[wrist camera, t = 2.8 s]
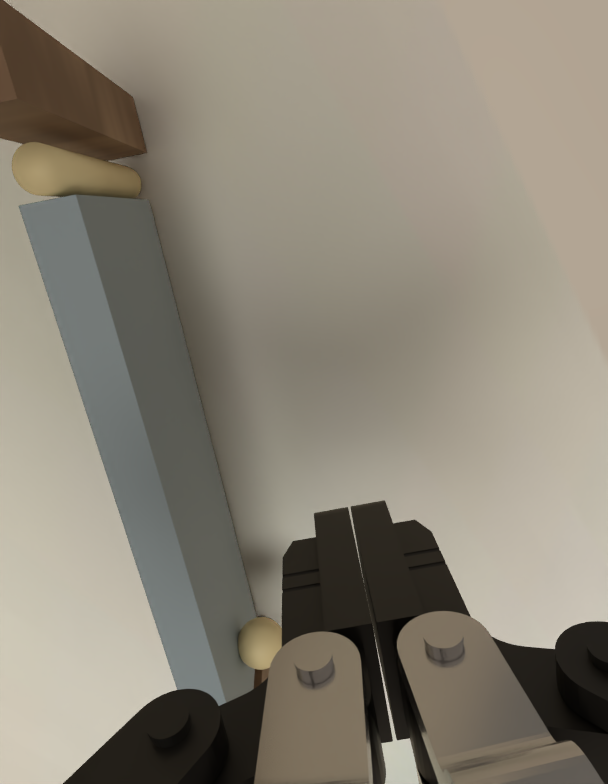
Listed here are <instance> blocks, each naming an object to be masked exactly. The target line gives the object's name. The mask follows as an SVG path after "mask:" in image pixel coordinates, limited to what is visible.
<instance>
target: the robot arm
mask: <svg viewBox="0 0 608 784" xmlns="http://www.w3.org/2000/svg"><path fill="white" fill-rule="evenodd" d="M351 512H352V518H353V523H354V529H355V535H356V540H357V546H358V552H359V558H360V563H361V567H360V563H359V558H358V553H357V548H356V544H355V539H354V534H353V529H352V525H351V520H350V515H349V510H348V507H346V508H340V509H334V510H329V511H323V512H317V513H314V519H315V530H316V537H315V538H309V539H303V540H297V541H293V542H292V544H291V545H290V547H289V548H288V550H287V552H286V553H285V555H284V557H283V578H282V590H283V593H282V648H281V649H280V650H279V651H278V652H277V653H276V655H275V656H274V658H273V660H272V662H271V665H270V669H269V675H268V678H267V679H266V680H265V681H263V682H262V683H261V684H260V685H259V686H257V687H256V688H254V689H253V690H251V691H250V692H248V693H246V694H244V695H242V696H240V697H237V698H235V699H233V700H231V701H229V702H226V703H224V704H222V705H220V706H218V704H217V702H216V700H215V699H214V698H213V697H212V696H211V695H209V694H208V693H206V692H204V691H201V690H197V689H180V690H176V691H172V692H169V693H166V694H164V695H162V696H160V697H158V698H156V699H154V700H153V701H151V702H150V703H148V704H147V705H146V706H144V707H143V708H142V709H141V710H140V711H139V712H138V713H137V714H136V715H135V716H133V717H132V718H131V719H130V720H129V721H128V722H127V723H126V724H125V725H124V726H123V727H122V728H121V729H120V730H119V731H118V732H117V733H116V734H115V735H114V736H112V737H111V738H110V739H109V740H108V741H107V742H106V743H105V744H104V745H103V746H102V747H101V748H100V749H99V750H98V751H97V752H96V753H95V754H94V755H93V756H91V757H90V758H89V759H88V760H87V761H86V762H85V763H84V764H83V765H82V766H81V767H80V768H79V769H78V770H77V771H76V772H75V773H74V774H73V775H72V776H70V777H69V778H68V779H67V780H66V781H65V782H64V783H63V784H384V783H385V778H386V769H385V762H384V756H383V751H382V745H381V743H385V742H391V741H393V739H392V733H391V728H390V722H389V716H388V711H387V705H386V699H385V693H384V688H383V682H382V676H381V671H380V665H379V659H378V653H379V658H380V662H381V667H382V672H383V677H384V681H385V686H386V691H387V696H388V700H389V705H390V710H391V715H392V719H393V724H394V729H395V734H396V738H397V740H401V739H407V738H410V740H411V744H412V749H413V753H414V757H415V762H416V768H417V774H418V781H419V784H608V622H596V621H595V622H585V623H581V624H577V625H574V626H572V627H570V628H568V629H567V630H565V631H564V632H563V633H562V634H561V635H560V636H559V638H558V639H557V642H556V645H555V649H545V648H534V647H524V646H517V645H512V644H508V643H505V642H503V641H500V640H497V639H495V638H493V637H491V635H490V634H489V632H488V631H487V629H486V628H485V627H484V626H483V625H482V624H481V623H480V622H478V621H477V620H475V619H473V618H471V616H470V614H469V612H468V610H467V608H466V606H465V603H464V601H463V599H462V597H461V595H460V593H459V590H458V588H457V586H456V584H455V582H454V580H453V577H452V575H451V573H450V571H449V569H448V567H447V564H445V560H444V558H443V556H442V554H441V551H439V547H438V545H437V543H436V541H435V538H434V536H433V534H432V532H431V531H430V530H428V529H427V528H426V527H424V526H423V525H422V524H420V523H419V522H417V521H416V520H411V521H405V522H399V523H394V524H393V522H392V519H391V517H390V514H389V511H388V508H387V505H386V502H385V501H379V502H373V503H368V504H362V505H356V506H351ZM361 569H362V572H361ZM362 574H363V577H362ZM363 580H364V582H363ZM364 585H365V586H364ZM365 590H366V591H365ZM368 605H369V606H368ZM372 624H373V625H372ZM373 629H374V630H373ZM374 634H375V636H374ZM375 639H376V642H375ZM376 643H377V648H378V653H377V648H376Z"/></svg>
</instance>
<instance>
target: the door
mask: <svg viewBox="0 0 608 784" xmlns="http://www.w3.org/2000/svg"><path fill="white" fill-rule="evenodd" d="M12 171H13V174H14V177H15V179H16V181H17V182H18V184H19V185H20V186H21V187H22V188H23V189H24V190H26V191H27V192H29V193H31V194H34V195H41V196H58V197H60V198H55V199H50V200H45V201H40V202H35V203H30V204H25V205H20V206H19V209H20V212H21V215H22V218H23V221H24V224H25V227H26V230H27V233H28V236H29V239H30V242H31V245H32V248H33V251H34V254H35V257H36V260H37V263H38V266H39V269H40V273H41V276H42V279H43V282H44V285H45V288H46V291H47V294H48V297H49V300H50V303H51V306H52V309H53V312H54V315H55V318H56V321H57V324H58V327H59V330H60V333H61V337H62V340H63V343H64V346H65V349H66V352H67V355H68V358H69V361H70V364H71V367H72V370H73V373H74V376H75V379H76V382H77V385H78V388H79V391H80V394H81V397H82V401H83V404H84V407H85V410H86V413H87V416H88V419H89V422H90V425H91V428H92V431H93V434H94V437H95V440H96V443H97V446H98V449H99V452H100V455H101V458H102V461H103V464H104V468H105V471H106V474H107V477H108V480H109V483H110V486H111V489H112V492H113V495H114V498H115V501H116V504H117V507H118V510H119V513H120V516H121V519H122V522H123V525H124V528H125V532H126V535H127V538H128V541H129V544H130V547H131V550H132V553H133V556H134V559H135V562H136V565H137V568H138V571H139V574H140V577H141V580H142V583H143V586H144V589H145V592H146V596H147V599H148V602H149V605H150V608H151V611H152V614H153V617H154V620H155V623H156V626H157V629H158V632H159V635H160V638H161V641H162V644H163V647H164V650H165V653H166V656H167V659H168V663H169V666H170V669H171V672H172V675H173V678H174V681H175V684H176V687H177V690H180V689H197V690H201V691H204V692H206V693H208V694H209V695H211V696H212V697H213V698H214V699H215V700H216V702H217V704H218V706H220V705H222V704H224V703H226V702H229V701H231V700H233V699H235V698H237V697H240V696H242V695H244V694H246V693H248V692H250V691H251V690H253V689H254V674H255V669H257V670H263V669H267V668H270V665H271V662H272V660H273V658H274V656H275V655H276V653H277V652H278V651H279V650H280V649H281V648H282V629H281V627H280V626H279V625H278V624H277V623H276V622H275V621H274V620H272V619H270V618H266V617H258V618H257V616H256V612H255V609H254V605H253V601H252V597H251V593H250V589H249V585H248V582H247V578H246V574H245V570H244V566H243V562H242V558H241V554H240V551H239V547H238V543H237V539H236V535H235V531H234V527H233V523H232V520H231V516H230V512H229V508H228V504H227V500H226V496H225V492H224V489H223V485H222V481H221V477H220V473H219V469H218V465H217V461H216V458H215V454H214V450H213V446H212V442H211V438H210V434H209V430H208V427H207V423H206V419H205V415H204V411H203V407H202V403H201V399H200V396H199V392H198V388H197V384H196V380H195V376H194V372H193V369H192V365H191V361H190V357H189V353H188V349H187V345H186V341H185V338H184V334H183V330H182V326H181V322H180V318H179V314H178V310H177V307H176V303H175V299H174V295H173V291H172V287H171V283H170V279H169V276H168V272H167V268H166V264H165V260H164V256H163V252H162V248H161V245H160V241H159V237H158V233H157V229H156V225H155V221H154V217H153V214H152V210H151V206H150V202H149V200H144V199H134V198H135V197H137V196H138V194H139V193H140V190H141V180H140V177H139V175H138V174H137V173H136V172H135V171H134V170H133V169H131V168H129V167H126V166H123V165H119V164H115V163H112V162H108V161H104V160H101V159H97V158H93V157H90V156H86V155H83V154H79V153H75V152H72V151H68V150H64V149H61V148H57V147H53V146H50V145H46V144H43V143H39V142H29V143H25V144H23V145H22V146H20V147H19V148H18V149H17V150H16V152H15V153H14V156H13V159H12Z"/></svg>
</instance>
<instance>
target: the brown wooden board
mask: <svg viewBox="0 0 608 784" xmlns="http://www.w3.org/2000/svg"><path fill="white" fill-rule="evenodd" d="M0 138H2V139H6V140H10V141H14V142H18V143H22V144H25V143H29V142H39V143H43V144H46V145H50V146H53V147H57V148H61V149H64V150H68V151H72V152H75V153H79V154H83V155H86V156H90V157H93V158H97V159H101V160H104V161H108V160H113V159H118V158H123V157H128V156H133V155H138V154H143V153H147V151H146V147H145V143H144V139H143V135H142V131H141V127H140V124H139V120H138V116H137V112H136V108H135V104H134V100H133V97H132V96H131V95H130V94H128V93H127V92H125V91H124V90H123V89H121V88H120V87H119V86H117V85H116V84H115V83H113V82H112V81H111V80H109V79H108V78H107V77H105V76H104V75H103V74H101V73H100V72H99V71H97V70H96V69H95V68H93V67H92V66H91V65H89V64H88V63H87V62H85V61H84V60H83V59H81V58H80V57H78V56H77V55H76V54H74V53H73V52H72V51H70V50H69V49H68V48H66V47H65V46H64V45H62V44H61V43H60V42H58V41H57V40H56V39H54V38H53V37H52V36H50V35H49V34H48V33H46V32H45V31H44V30H42V29H41V28H40V27H38V26H37V25H36V24H34V23H33V22H31V21H30V20H29V19H27V18H26V17H25V16H23V15H22V14H21V13H19V12H18V11H17V10H15V9H14V8H13V7H11V6H10V5H9V4H7V3H6V2H5V1H3V0H0ZM269 669H270V668H267V669H263V670H257V669H255V674H254V688H256V687H257V686H259V685H260V684H261V683H262V682H263V681H265V680H266V679H267V678H268V675H269Z"/></svg>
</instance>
